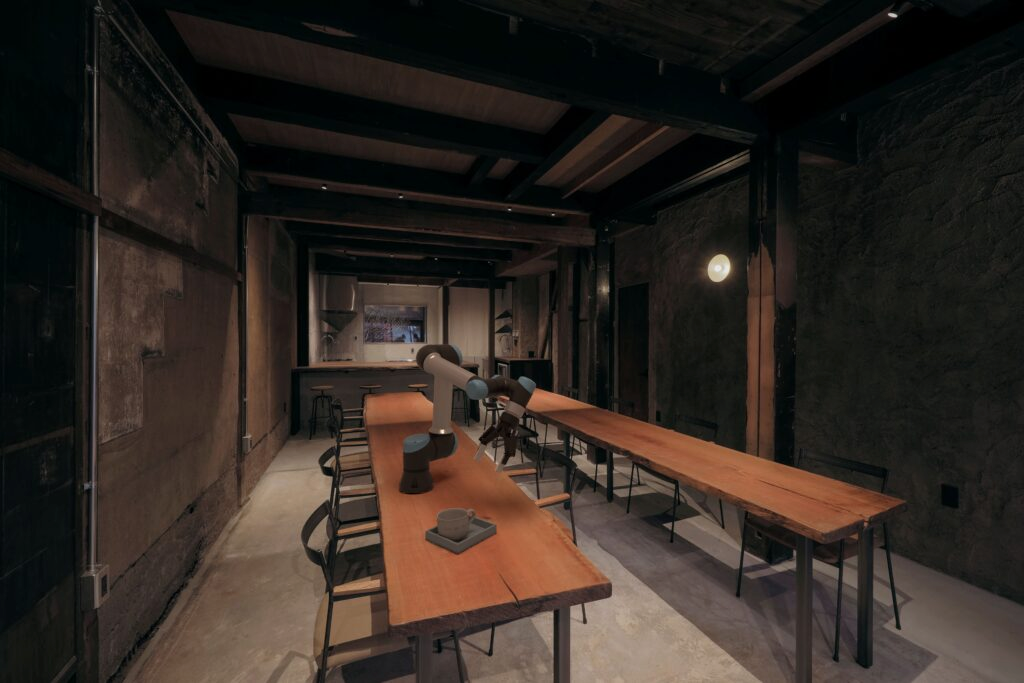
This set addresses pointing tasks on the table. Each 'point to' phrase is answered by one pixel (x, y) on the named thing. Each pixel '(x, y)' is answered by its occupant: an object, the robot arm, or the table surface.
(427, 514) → the table surface
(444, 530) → the teacup
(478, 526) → the tray
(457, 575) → the table surface
